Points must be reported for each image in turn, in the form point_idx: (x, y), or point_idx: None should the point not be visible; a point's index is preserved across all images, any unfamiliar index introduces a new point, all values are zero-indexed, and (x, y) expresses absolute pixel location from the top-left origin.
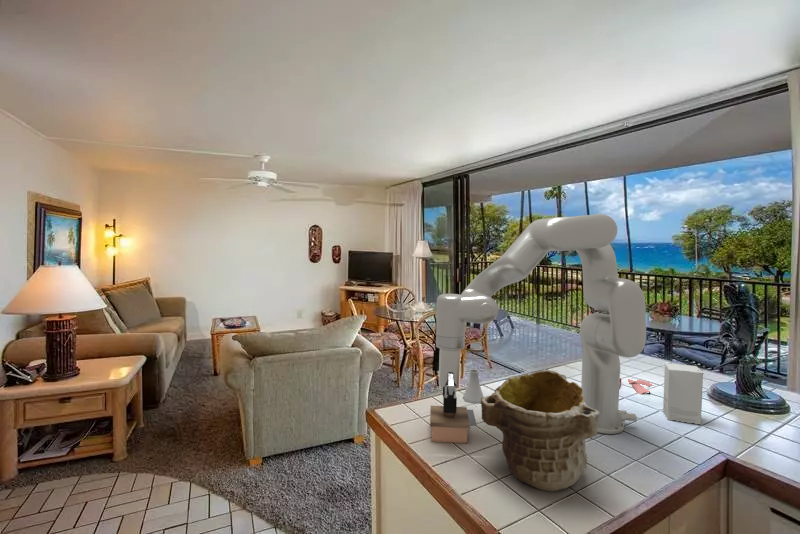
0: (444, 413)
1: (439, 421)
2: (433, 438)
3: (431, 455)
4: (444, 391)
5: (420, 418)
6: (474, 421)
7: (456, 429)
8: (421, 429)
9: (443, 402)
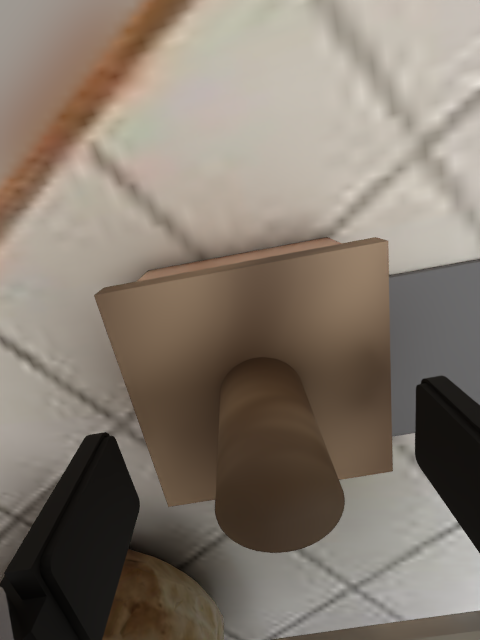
0: (230, 379)
1: (137, 352)
2: None
3: (38, 291)
4: (448, 425)
5: (407, 147)
6: (394, 431)
7: None
8: (268, 186)
9: (255, 415)
